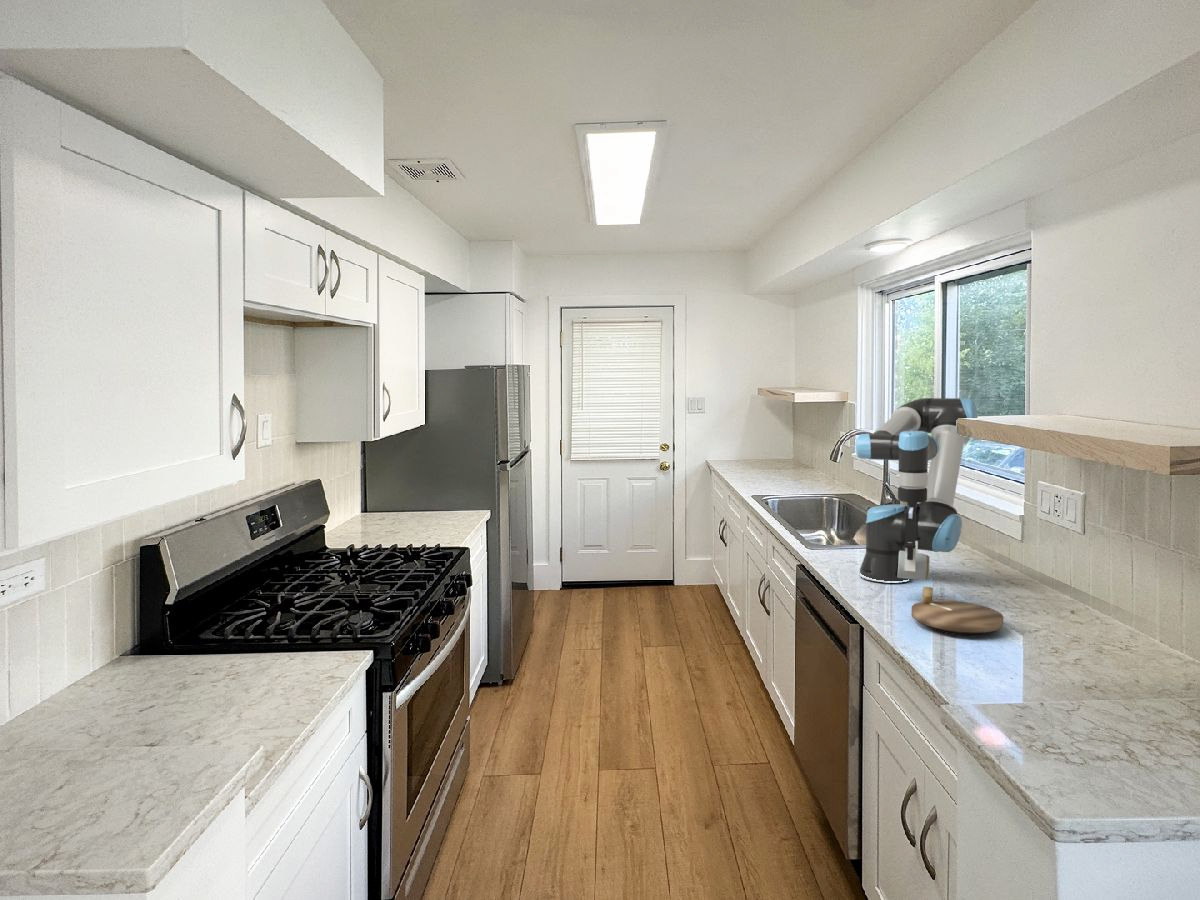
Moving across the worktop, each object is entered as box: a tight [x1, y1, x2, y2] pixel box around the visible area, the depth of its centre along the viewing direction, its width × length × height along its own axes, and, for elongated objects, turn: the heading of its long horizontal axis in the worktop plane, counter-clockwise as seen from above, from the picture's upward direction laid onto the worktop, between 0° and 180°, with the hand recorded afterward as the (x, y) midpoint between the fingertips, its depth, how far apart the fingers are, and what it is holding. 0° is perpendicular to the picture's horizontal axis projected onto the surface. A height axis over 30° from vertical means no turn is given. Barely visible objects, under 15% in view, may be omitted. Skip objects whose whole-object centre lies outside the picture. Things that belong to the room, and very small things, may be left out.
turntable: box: [910, 586, 1004, 633], centre depth 188 cm, size 21×21×6 cm
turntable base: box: [928, 626, 986, 636], centre depth 188 cm, size 14×14×2 cm
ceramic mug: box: [898, 551, 930, 581], centre depth 210 cm, size 11×8×8 cm
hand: (911, 566), depth 208 cm, fingers closed on ceramic mug, 8 cm apart
